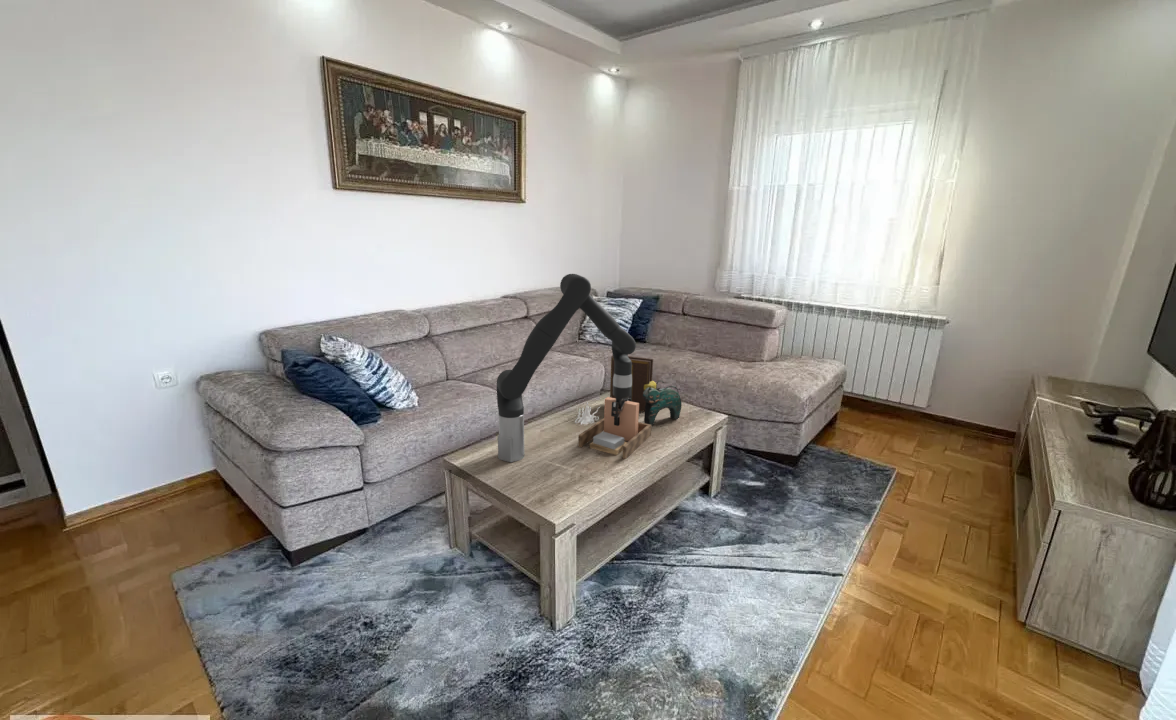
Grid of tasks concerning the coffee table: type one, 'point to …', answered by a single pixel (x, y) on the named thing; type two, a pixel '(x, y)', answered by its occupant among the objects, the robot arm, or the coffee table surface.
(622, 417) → the salmon orange rectangular slab
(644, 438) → the wooden tray
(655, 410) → the ceramic cat
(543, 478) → the coffee table surface
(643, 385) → the book
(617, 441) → the offcut top
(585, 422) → the white tentacle figurine
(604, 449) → the offcut bottom
